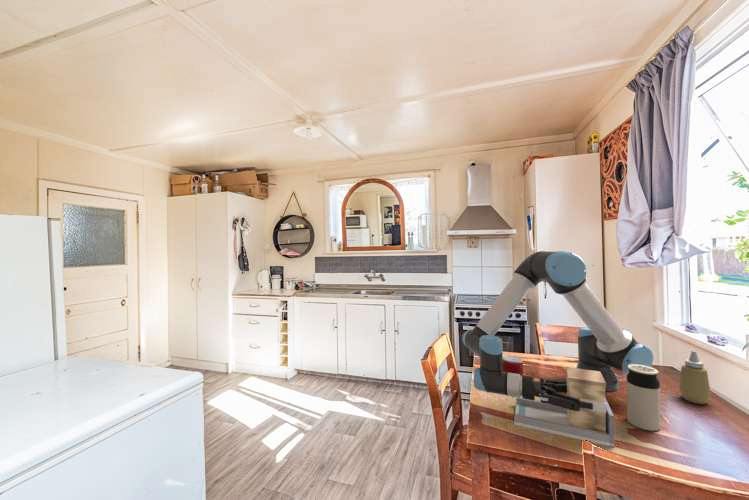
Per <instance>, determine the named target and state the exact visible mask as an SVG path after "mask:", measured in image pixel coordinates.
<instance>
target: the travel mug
mask: <svg viewBox="0 0 749 500" xmlns="http://www.w3.org/2000/svg"><path fill="white" fill-rule="evenodd" d="M627 367H628V368H629V373H628V374H626V417H627V418H626V419H627V422H628V423H629V424H631V425H632V426H635V427H636V428H639V429H641V430H645V431H650V432H651V431H655V432H656V431H660V430H661V390H660V389H661V381H660V380H659V379H658V374H659V370H657V369H656V368H654V367H652V366H651V367H649V366H645V365H638V364H630V365H628V366H627Z"/></svg>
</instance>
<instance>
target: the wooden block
mask: <svg viewBox="0 0 749 500" xmlns="http://www.w3.org/2000/svg"><path fill="white" fill-rule="evenodd" d="M565 373H566V381H567V393H566V395H567V396H569V397H573V398H576V399H578V400H579V398H582V399H587V400H593V401H599V402H605V398H606V391H605V387H606V382H605V380H604V378H603V376H602V374H601V372H600V371H593V370H586V369H578V368H576V367H569V366H565ZM567 417H568V422H569V425H570V426H575V427H580V428H584V429H589V430H594V431H598V432H603V433H606V413H603V412H598V411H593V410H587V409H582V408H580V411H573V410H570V409H567Z"/></svg>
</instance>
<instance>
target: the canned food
mask: <svg viewBox="0 0 749 500" xmlns="http://www.w3.org/2000/svg"><path fill="white" fill-rule="evenodd" d="M502 367H503V372H508V373H515V374H520V375H521V376H523V375H524V359H523V358H522V357H520V356H518V355H510V354H509V355H508V354H507V355H502Z"/></svg>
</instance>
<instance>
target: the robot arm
mask: <svg viewBox="0 0 749 500" xmlns="http://www.w3.org/2000/svg"><path fill="white" fill-rule="evenodd" d="M586 270H587V266H586V263H585V262H584V260H583V259H582V258H581V257H580V256H579V255H578V254H575V253H574V252H569V251H563V250H561V251H560V250H559V251H546V250H545V251H543V250H541V251H536V252H533V253H532V254H530V255H529V256H527V257H526V258H525V259H524V260H523V261H522V262H521V263H520V264H519V265H517V267H516V269H515V270H514V271H513V273H512V278H511V280H510V281H509V282H508V283H507V285H506V286H505V287H504V289H503V290H502V291H501V293H499V295H498V296H497V298H496V299H495V300H494V301H493V303H492V304H491V306H489V308H488V310H487V311H486V312H485V313H484V315H483V316H482V317H481V318H480V320H479V321H478V322H477V324H476V325H474V327H473V328H472V329H468V330H466V331H465V332H464V333H463V334H462V337H461V338H462V343H463V345H464V346H465V347H466V348H467V350H469V351H471V352H472V353H473V354H475V355H476V356H477V357H478V358H479V367H475V368H474V373H473V386H474V388H475V389H476V390H479V391H482V392H486V393H492V394H498V395H503V396H509V397H511V398H516V397H518V398H520V397H521V398H524V399H528V400H536V397H538V398H540V401H541V402H542V403H547V404H552V405H555V406H559V407H562V408H566V409H570V410H573V411H580V408H582V409H587V410H593V411H598V412H603V413H606V403H605V402H599V401H593V400H587V399H582V398H579V400H578V399H576V398H573V397H569V396H567V380H558V379H546V378H539V381H535V377H534V376H532V375H527V374H526V375H524V374H523V376H521V375H520V374H515V373H508V372H503V367H502V357H503V350H504V348H503V340H502V338H500V337H499V336H497V335H496V334H497V332H498V331H499V330H500V328H501V327H502V326H503V325H504V323H505V322H506V321H507V320H508V318H509V317H510V316H511V314H512V313H513V311H514V310H515V309H516V308H517V307H518V306H519V304H520V303H521V302H522V300H523V299H524V297H526V295H527V294H528V293H529V291H530V290H531V289H535V288H536V287H537V285H538V284H539V283H541V282H544V283H547V284H548V285H549V287H550V288H551V289H552V291H554V293H555V294H556V295H561V296H562V297H564V298H565V300H566V302H567V303H568V304H569V306H570V307H571V308H572V309H573V310H574V312H575V314H577V315H578V317H579V318H580V319H581V320H582V322H583V324H585V326H586V327H580V328H579V329H578V332H577V351H578V362H577V364H576V367H575V368H578V369H586V370H593V371H600V372H601V374H602V376H603V378H604V380H605V382H606V387H605V392H615V391H618V390H619V389H620V388H619V385H620V384H619V379H618V377H617V374H616V372H615V370H614V368H615V369H616V370H618V371H621V372H623V373H624V374H626V375H627V374H628V373H629V368H628V367H627V366H628V365H630V364H638V365H645V366H649V367H652V366H653V362H654V353H653V351H652V349H651V348H650V347H649V346H647V345H645V344H643V343H639V342H638V341H637V340H636V339H635V337H634V336H633V335H632V334H631V333H630V332H629V330H626V329H622V328H621V327H620V325H619V324H618V323H617V322H616V321H615V319H614V317H613V316H612V315H611V314H610V313H609V312H608V310H607V309H606V307H605V306H604V305H603V304H602V302H601V301H600V299H599V298H598V296H597V295H596V294H595V293H594V292H593V290H592V289H591V287H589V285H588V284H587V280H588V276H587V271H586ZM495 335H496V336H495ZM565 393H566V394H565Z"/></svg>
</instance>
